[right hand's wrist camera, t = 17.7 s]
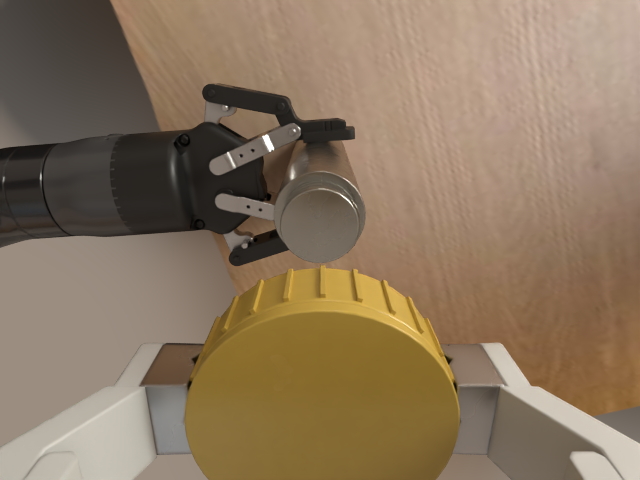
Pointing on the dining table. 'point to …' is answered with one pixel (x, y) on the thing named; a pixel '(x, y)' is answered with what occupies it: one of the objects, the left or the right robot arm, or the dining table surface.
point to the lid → (322, 385)
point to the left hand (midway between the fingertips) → (354, 168)
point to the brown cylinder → (319, 203)
